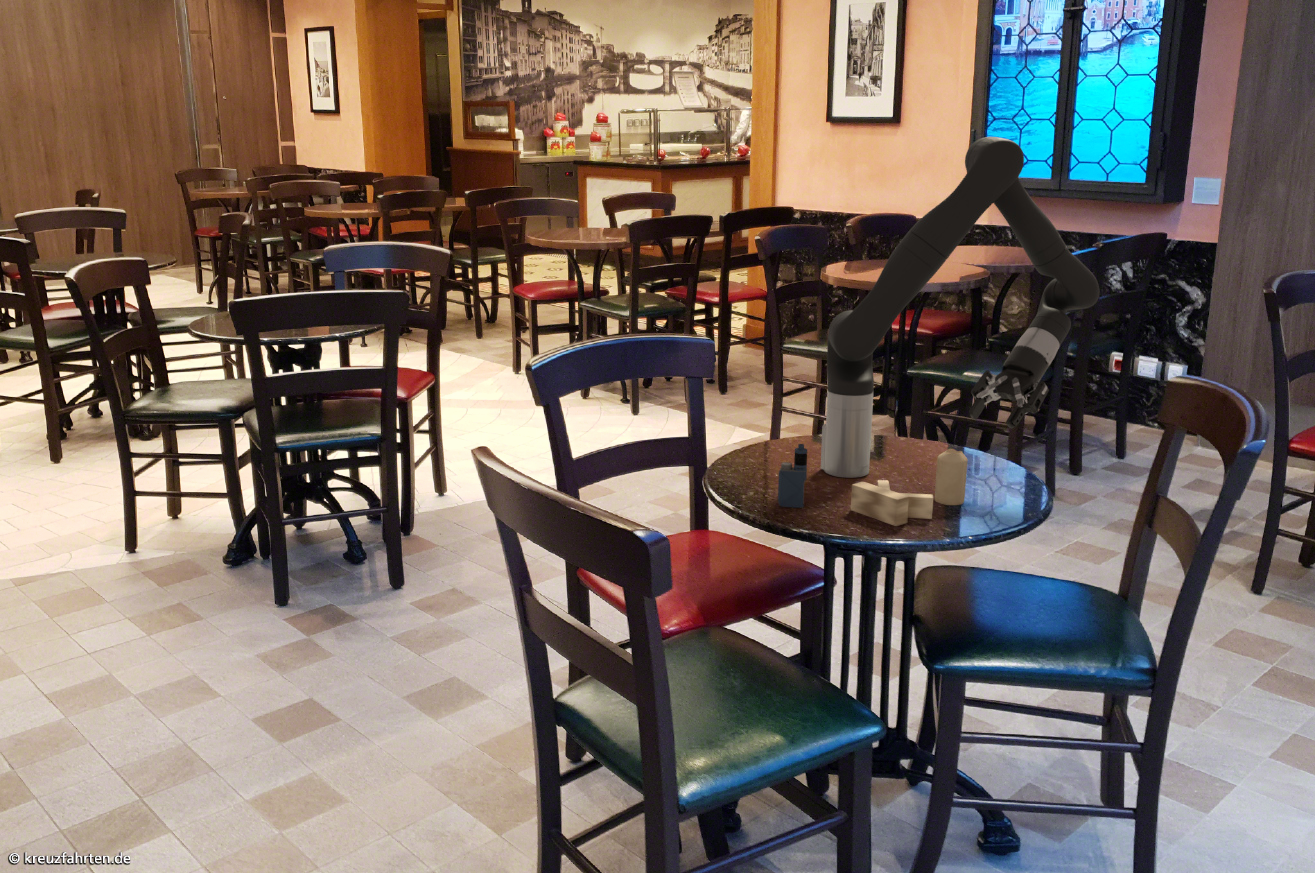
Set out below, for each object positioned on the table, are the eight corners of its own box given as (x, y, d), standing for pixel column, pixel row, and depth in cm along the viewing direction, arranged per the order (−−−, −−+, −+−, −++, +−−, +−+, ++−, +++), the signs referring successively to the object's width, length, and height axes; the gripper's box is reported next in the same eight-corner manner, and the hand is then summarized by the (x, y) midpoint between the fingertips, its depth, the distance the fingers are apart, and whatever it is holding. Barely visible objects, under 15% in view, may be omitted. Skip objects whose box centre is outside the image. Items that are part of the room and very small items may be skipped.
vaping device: (805, 508, 204) (807, 446, 201) (777, 506, 205) (778, 445, 202) (806, 504, 206) (808, 443, 203) (778, 502, 207) (780, 441, 204)
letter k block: (846, 508, 204) (847, 482, 203) (881, 498, 210) (882, 473, 208) (901, 528, 194) (902, 501, 192) (937, 517, 199) (938, 491, 198)
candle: (931, 496, 211) (935, 446, 208) (960, 496, 211) (964, 446, 208) (937, 505, 206) (941, 454, 203) (967, 505, 206) (971, 454, 203)
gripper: (994, 339, 218) (952, 403, 214) (1056, 349, 207) (1014, 417, 203) (1008, 362, 222) (968, 425, 219) (1070, 373, 211) (1029, 440, 207)
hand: (990, 421), depth 211 cm, fingers open, 8 cm apart
